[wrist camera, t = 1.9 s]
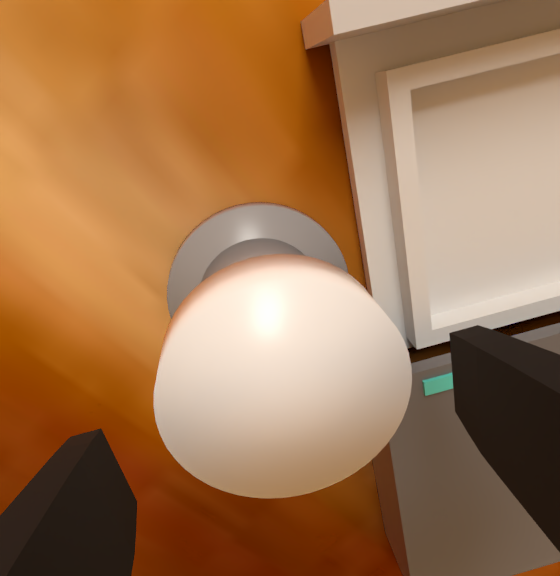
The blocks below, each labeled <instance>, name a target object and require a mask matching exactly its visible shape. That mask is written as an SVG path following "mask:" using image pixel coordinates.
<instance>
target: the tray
mask: <svg viewBox="0 0 560 576" xmlns="http://www.w3.org/2000/svg"><path fill="white" fill-rule="evenodd" d="M301 27H302V32H303V38H304V44H305V50H306V49H310V48H315V47H319V46H323V45H327V44H329V45H330V52H331V58H332V65H333V71H334V78H335V84H336V91H337V97H338V104H339V110H340V117H341V123H342V130H343V136H344V143H345V149H346V156H347V162H348V169H349V175H350V182H351V188H352V195H353V201H354V208H355V214H356V221H357V227H358V234H359V240H360V247H361V253H362V260H363V266H364V273H365V279H366V286H367V291H368V293H369V294H370V295H371V296H372V298H373V299H374V300H375V301H376V302H377V304H378V305H379V306H380V307H381V309H382V310H383V311H384V312H385V313H386V315H387V316H388V317H389V318H390V320H391V321H392V322H393V323H394V325H395V326H396V327H397V329H398V330H399V332H400V334H401V336H402V338H403V339H404V342H405V344H406V347H407V349H408V348H412V347H415V348H416V349H421V348H425V347H428V346H432V345H436V344H439V343H443V342H447V341H450V336H449V333H451V332H455V331H458V330H462V329H466V328H469V327H473V326H476V325H479V326H482V327H485V328H489V329H494V328H498V327H502V326H505V325H509V324H513V323H516V322H520V321H524V320H527V319H531V318H535V317H538V316H542V315H546V314H549V313H553V312H557V311H560V0H326V1H324V2H323V3H322V4H321V5H320V6H319V7H317V8H316V9H315V10H314V11H313V12H312V13H310V14H309V15H308V16H307V17H306V18H304V19H303V20H302V21H301Z"/></svg>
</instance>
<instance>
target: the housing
mask: <svg viewBox="0 0 560 576" xmlns="http://www.w3.org/2000/svg"><path fill="white" fill-rule="evenodd" d="M511 337H514V338H517V339H519V340H522V341H525V342H527V343H530V344H533V345H535V346H538V347H541V348H543V349H546V350H549V351H551V352H554V353H557V354H560V323H557V324H553V325H549V326H546V327H542V328H539V329H535V330H531V331H528V332H524V333H520V334H517V335H513V336H511ZM411 367H412V386H411V395H410V398H409V402H408V406H407V409H406V412H405V414H404V417H403V419H402V421H401V423H400V425H399V427H398V429H397V430H396V432H395V434H394V435H393V436H392V438H391V439H390V441H389V442H388V443H387V445H386V446H385V447H384V448H383V449H382V450H381V451H380V452H379V453H378V454H377V456H375V457H374V458H373V459H372V462H373V468H374V473H375V479H376V484H377V490H378V495H379V501H380V507H381V512H382V518H383V523H384V529H385V533H386V536H387V538H388V541H389V543H390V545H391V548H392V550H393V553H394V555H395V558H396V560H397V563H398V565H399V568H400V570H401V573H402V575H403V576H512V575H516V574H519V573H522V572H526V571H529V570H532V569H536V568H539V567H542V566H546V565H549V564H552V563H556V562H559V561H560V552H559V551H558V550H557V549H556V547H555V546H554V545H553V544H552V542H551V541H550V540H549V539H548V537H547V536H546V535H545V534H544V532H543V531H542V530H541V529H540V527H539V526H538V525H537V524H536V522H535V521H534V520H533V519H532V517H531V516H530V515H529V514H528V513H527V511H526V510H525V509H524V508H523V506H522V505H521V504H520V503H519V501H518V500H517V499H516V498H515V496H514V495H513V494H512V493H511V491H510V490H509V489H508V488H507V486H506V485H505V484H504V483H503V481H502V480H501V479H500V477H499V476H498V475H497V474H496V472H495V471H494V470H493V469H492V467H491V466H490V465H489V464H488V462H487V461H486V460H485V458H484V457H483V456H482V454H481V453H480V451H479V450H478V448H477V447H476V445H475V444H474V442H473V440H472V439H471V437H470V436H469V434H468V432H467V431H466V429H465V427H464V426H463V424H462V422H461V421H460V419H459V417H458V416H457V414H456V412H455V404H454V390H453V376H452V363H451V353H447V354H444V355H440V356H436V357H433V358H429V359H425V360H422V361H418V362H414V363H411Z"/></svg>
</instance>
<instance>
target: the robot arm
mask: <svg viewBox="0 0 560 576" xmlns="http://www.w3.org/2000/svg"><path fill="white" fill-rule="evenodd" d="M449 336H450V349H451V363H452V376H453V390H454V404H455V412H456V414H457V416H458V417H459V419H460V421H461V422H462V424H463V426H464V427H465V429H466V431H467V432H468V434H469V436H470V437H471V439H472V440H473V442H474V444H475V445H476V447H477V448H478V450H479V451H480V453H481V454H482V456H483V457H484V458H485V460H486V461H487V462H488V464H489V465H490V466H491V467H492V469H493V470H494V471H495V472H496V474H497V475H498V476H499V477H500V479H501V480H502V481H503V483H504V484H505V485H506V486H507V488H508V489H509V490H510V491H511V493H512V494H513V495H514V496H515V498H516V499H517V500H518V501H519V503H520V504H521V505H522V506H523V508H524V509H525V510H526V511H527V513H528V514H529V515H530V516H531V517H532V519H533V520H534V521H535V522H536V524H537V525H538V526H539V527H540V529H541V530H542V531H543V532H544V534H545V535H546V536H547V537H548V539H549V540H550V541H551V542H552V544H553V545H554V546H555V547H556V549H557V550H558V551H559V552H560V354H557V353H554V352H551V351H549V350H546V349H543V348H541V347H538V346H535V345H533V344H530V343H527V342H525V341H522V340H519V339H517V338H514V337H511V336H509V335H506V334H503V333H500V332H497V331H495V330H492V329H489V328H485V327H482V326H479V325H476V326H473V327H469V328H466V329H462V330H458V331H455V332H451V333H449ZM136 517H137V501H136V499H135V497H134V495H133V492H132V490H131V488H130V486H129V484H128V482H127V480H126V478H125V476H124V474H123V472H122V470H121V468H120V466H119V464H118V462H117V460H116V458H115V456H114V454H113V452H112V450H111V448H110V446H109V444H108V442H107V440H106V438H105V436H104V434H103V432H102V430H101V429H98V430H94V431H90V432H87V433H83V434H79V435H76V436H72V437H70V438H69V439H68V440H67V441H66V442H65V443H64V444H63V445H62V446H61V447H60V448H59V449H58V450H57V451H56V453H55V454H54V455H53V456H52V457H51V458H50V459H49V460H48V462H47V463H46V464H45V465H44V466H43V467H42V468H41V470H40V471H39V472H38V473H37V474H36V475H35V476H34V478H33V479H32V480H31V481H30V482H29V483H28V485H27V486H26V487H25V488H24V489H23V490H22V491H21V493H20V494H19V495H18V496H17V497H16V498H15V499H14V501H13V502H12V503H11V504H10V505H9V506H8V507H7V509H6V510H5V511H4V512H3V513H2V514H1V515H0V576H131V573H132V566H133V560H134V553H135V538H136Z"/></svg>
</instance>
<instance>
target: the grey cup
mask: <svg viewBox="0 0 560 576" xmlns="http://www.w3.org/2000/svg"><path fill="white" fill-rule="evenodd" d="M272 254H295V255H303V256H308V257H313V258H316V259H319V260H322V261H325V262H328V263H330V264H332V265H334V266H336V267H338V268H340V269H342V270H344V271H345V272H347V273H348V270H347V266H346V263H345V260H344V258H343V255H342V253H341V251H340V249H339V248H338V246H337V244H336V243H335V242H334V240H333V239H332V238H331V236H330V235H329V234H328V233H327V232H326V231H325V229H323V228H322V227H321V226H320V225H319V224H318V223H317V222H316V221H315V220H313V219H312V218H310V217H309V216H308V215H306V214H304V213H302V212H300V211H298V210H296V209H293V208H290V207H288V206H285V205H280V204H275V203H265V202H255V203H245V204H240V205H235V206H232V207H229V208H226V209H224V210H221V211H219V212H217V213H215V214H213V215H212V216H210V217H209V218H207V219H205V220H204V221H203V222H201V223H200V224H199V225H198V226H197V227H196V228H194V229H193V230H192V232H191V233H190V234H189V235H188V236H187V237H186V238H185V240H184V241H183V243H182V244H181V246H180V247H179V249H178V251H177V254H176V256H175V258H174V261H173V264H172V267H171V270H170V275H169V280H168V286H167V301H168V309H169V313H170V316H171V319H172V317H173V315H174V313H175V312H176V310H177V309H178V307H179V306H180V304H181V303H182V301H183V300H184V299H185V298H186V297H187V296H188V295H189V294H190V292H191V291H192V290H193V289H194V288H195V287H197V286H198V285H199V284H200V283H201V282H203V281H204V280H205V279H206V278H208V277H210V276H211V275H213V274H214V273H216V272H217V271H219V270H221V269H223V268H225V267H227V266H229V265H231V264H234V263H236V262H239V261H242V260H245V259H249V258H253V257H258V256H263V255H272Z"/></svg>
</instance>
